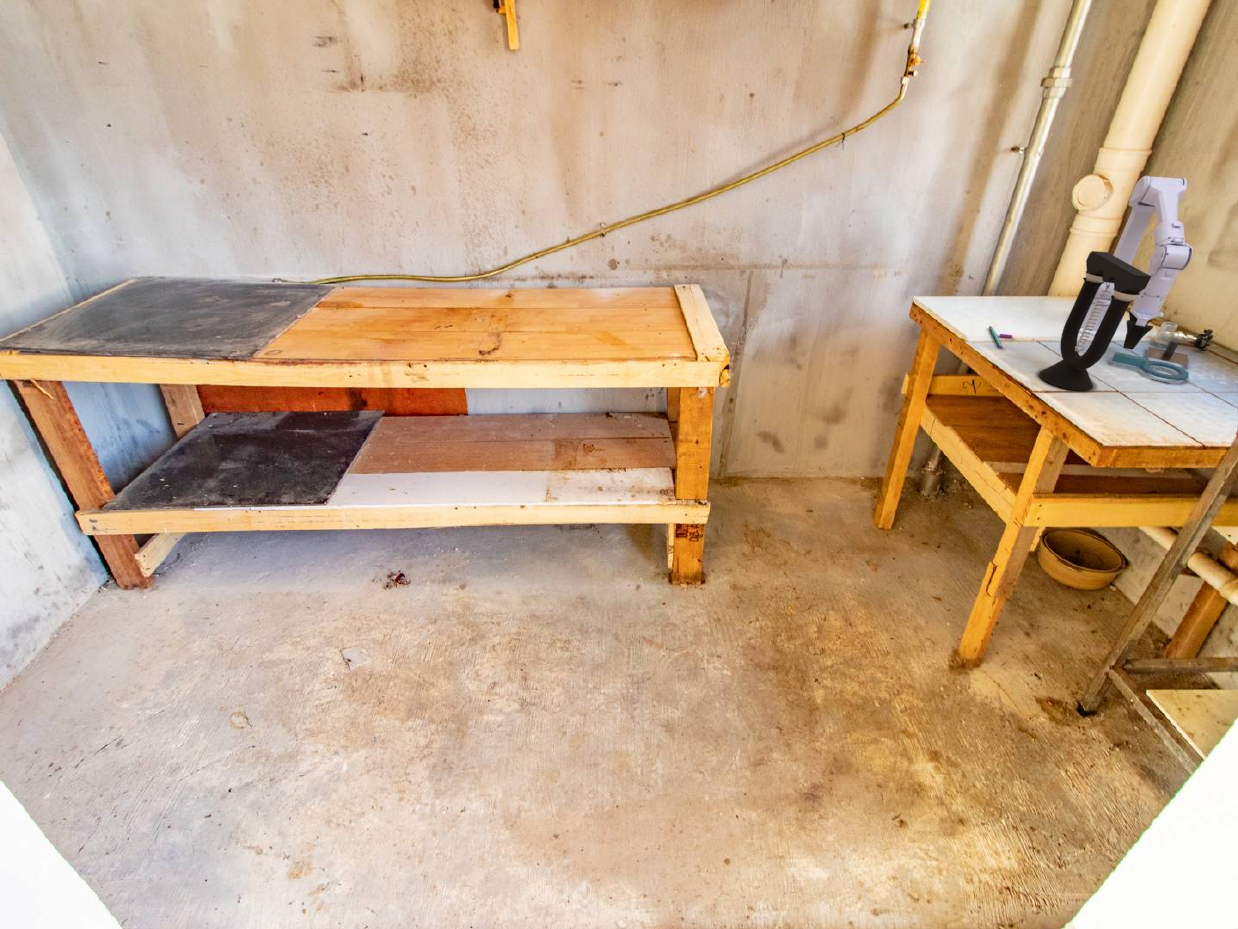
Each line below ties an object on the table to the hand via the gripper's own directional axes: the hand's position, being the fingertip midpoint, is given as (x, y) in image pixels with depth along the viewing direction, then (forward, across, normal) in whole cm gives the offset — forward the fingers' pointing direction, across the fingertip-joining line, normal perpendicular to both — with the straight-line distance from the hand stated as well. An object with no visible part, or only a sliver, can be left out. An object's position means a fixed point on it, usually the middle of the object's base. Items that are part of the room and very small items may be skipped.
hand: (1129, 343), depth 172 cm
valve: (+6, +25, -12) cm, 28 cm away
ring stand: (+6, +13, -10) cm, 17 cm away
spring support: (+6, -19, +11) cm, 23 cm away
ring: (+6, 0, -6) cm, 9 cm away
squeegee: (+6, 0, +29) cm, 29 cm away
